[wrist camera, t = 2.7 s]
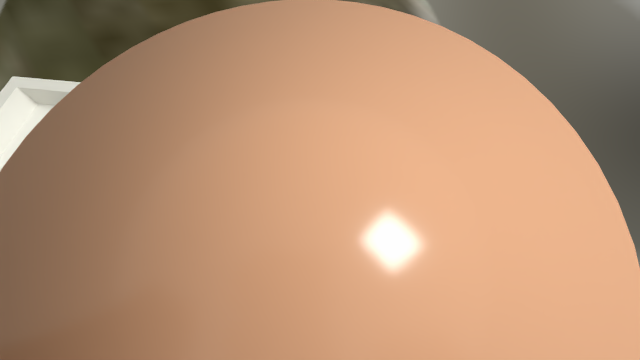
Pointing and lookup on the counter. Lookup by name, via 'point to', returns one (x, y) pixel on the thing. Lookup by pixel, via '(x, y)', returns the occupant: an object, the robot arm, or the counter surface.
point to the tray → (26, 109)
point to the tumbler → (311, 203)
